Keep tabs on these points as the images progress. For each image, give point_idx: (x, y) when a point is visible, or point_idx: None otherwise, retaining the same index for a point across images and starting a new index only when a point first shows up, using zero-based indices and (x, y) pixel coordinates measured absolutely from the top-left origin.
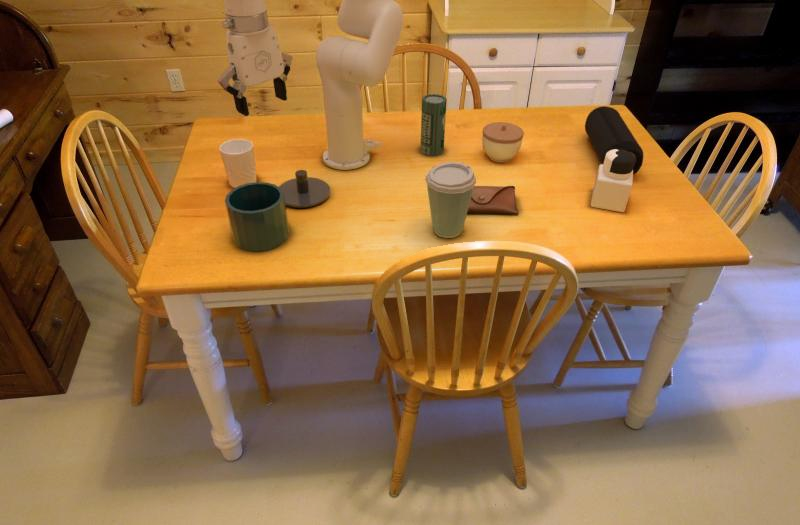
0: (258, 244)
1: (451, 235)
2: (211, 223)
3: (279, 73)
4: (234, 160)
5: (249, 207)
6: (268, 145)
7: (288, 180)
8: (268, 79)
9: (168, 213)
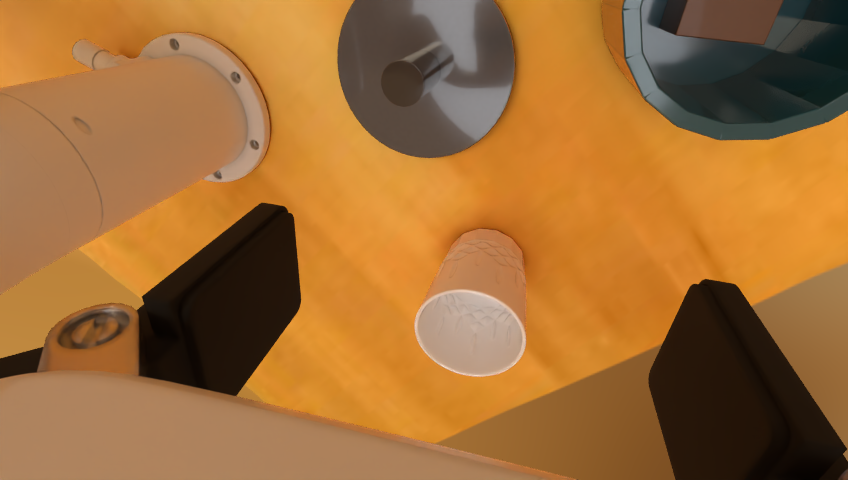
0: None
1: None
2: (718, 188)
3: (51, 409)
4: (516, 298)
5: (674, 91)
6: (322, 319)
7: (410, 154)
8: (361, 446)
9: None
